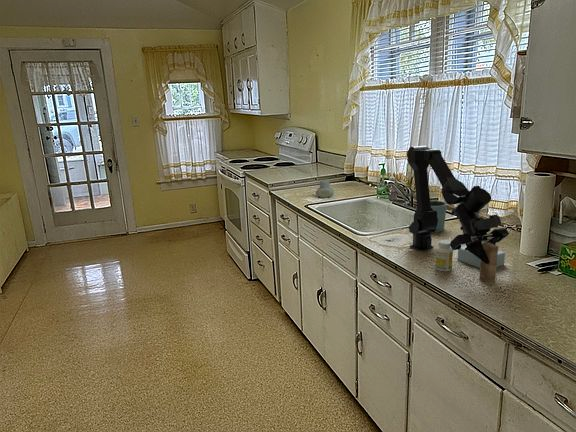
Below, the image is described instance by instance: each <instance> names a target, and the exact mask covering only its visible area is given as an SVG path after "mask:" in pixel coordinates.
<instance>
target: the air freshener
mask: <svg viewBox="0 0 576 432" xmlns="http://www.w3.org/2000/svg"><path fill="white" fill-rule="evenodd" d="M334 193H335V192H334V189H333V188H332V187H331V186H330V180H328V179H322V180H320V181H319V187H318V188H317V189H316V190H315V194H316V196H317V197H319V198H321V199H327V198H331V197H332V196H333V195H334Z"/></svg>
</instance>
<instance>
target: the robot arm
mask: <svg viewBox="0 0 576 432" xmlns="http://www.w3.org/2000/svg"><path fill="white" fill-rule="evenodd" d="M406 158H407V163H408V165H409V166H410V167H411V169H412V170H413V179H414V188H415V198H416V210H415V212H414V214H413V221H412V222H411V224H410V225H409V226H408V230H409V231H408V232H409V233H410V234H412V244H410V245H409V247H410V248H412V249H416V250H418V251H420V252H423V251H427V250H430V249H433V248H434V246H433V245H432V233H436V232H435V230H436V227H437V224H438V218H437V211H434V210H433V209H432V207H431V203H430V201H431V195H430V194H431V193H430V184H429V175H428V169H429V168H428V167H429V166H430V168H431V169H432V171H433V173H434V175H435V176H436V178H437V180H438V181H439V183H440V185H441V195H442V197H443V200H444V202H446V203H447V205H456V206H453V207H452V210H451V214H450V215H451V216H456V218H457V220H458V221H459V223H460V225H461V226H460V227H459V229H460V231H463V230H464V231H465V233H466V234H463V233H462V234H457V235H456V236H455V237H454V238H453V239H451V241H450V246H451V248H452V250H453V251H458V249H461V247H462V246H463V245H465V246H466V248H465V250H467V251H469V252H471V253H472V254H474V255H475V256H477V257H478V258H479V259H481V260H482V261H483V262H484V263H486V264H489V260H488V257H487V255H486V253H485V251H484V249H483V247H482V244H483V243H488V242H489V243H491V244H494V245H496V246H497V243H500V242H501V241H503V240H504V239H505V238H507V237H508V236H509V235H510V232H509V231H508V229H507V228H505V227H500V228H499V225H501V223H502V221H501V217H500V216H499V215H498V214H493V215H489V216H488V217H489V218H483V217H482V216H480V217H479V215H477V214H476V212H479V211H480V212H481V211H482V210H483V209H484V208H485V207H486V206H487V205H488V204H489V203H491V201H492V195H491V193H490V192H488V191H487V190H486V189H484V188H481V186H480V185H474V186H473V187H471V189H470V190H469V189H468V188H467V186H466V185H465V184H464V183H463V182H462V181H460V180H459V179H457V178H456V177H455V176H454V174H453V171H452V170H451V168H450V167H449V166H448V165H449V164H448V163H447V162H446V160H445V158H444V156H443V155H442V152H441V150H440V149H439V148H430V147H428V145H416V146H410V147H409V148H408V149H407V152H406ZM480 212H479V213H480ZM494 228H495V229H494ZM491 229H493V230H492V231H491Z"/></svg>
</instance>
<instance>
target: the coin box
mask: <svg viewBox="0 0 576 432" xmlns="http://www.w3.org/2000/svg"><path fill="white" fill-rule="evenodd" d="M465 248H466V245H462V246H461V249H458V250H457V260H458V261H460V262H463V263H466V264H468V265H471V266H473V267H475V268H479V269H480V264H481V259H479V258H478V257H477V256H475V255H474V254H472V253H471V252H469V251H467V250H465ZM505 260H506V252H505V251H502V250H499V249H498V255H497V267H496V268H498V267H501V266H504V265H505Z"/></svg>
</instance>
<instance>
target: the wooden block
mask: <svg viewBox="0 0 576 432" xmlns="http://www.w3.org/2000/svg"><path fill="white" fill-rule="evenodd" d="M482 247H483V249H484V251H485V253H486V255H487V257H488V260H489V264H486V263H484V262H483V261H482V260H481V264H480V268H479V277H478V279H479V280H480V281H483V282H484V283H487V284H488V285H490V284H495V283H496V277H497V268H498V267H497V255H498V250H499V245H497V244H496V245H494V244H491V243H489V242H488V243H483V242H482Z"/></svg>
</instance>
